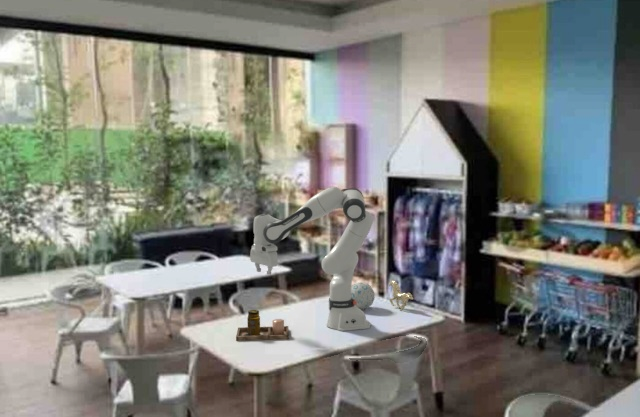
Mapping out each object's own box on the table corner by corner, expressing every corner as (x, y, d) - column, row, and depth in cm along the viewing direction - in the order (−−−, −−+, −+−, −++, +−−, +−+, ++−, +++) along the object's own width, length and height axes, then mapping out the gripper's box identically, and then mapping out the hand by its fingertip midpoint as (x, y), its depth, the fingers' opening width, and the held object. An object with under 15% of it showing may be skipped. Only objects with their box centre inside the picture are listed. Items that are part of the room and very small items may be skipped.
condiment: (263, 334, 282) (263, 310, 280) (253, 339, 274) (253, 314, 273) (251, 331, 285) (251, 308, 284) (241, 336, 278) (240, 312, 277)
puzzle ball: (346, 305, 333) (346, 280, 331) (371, 304, 335) (371, 279, 333) (350, 313, 318) (350, 286, 316) (377, 312, 320) (377, 285, 318)
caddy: (288, 330, 288) (288, 326, 288) (288, 340, 274) (288, 335, 274) (238, 332, 286) (238, 327, 286) (236, 341, 272) (236, 336, 272)
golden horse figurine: (415, 312, 318) (415, 282, 316) (410, 314, 315) (410, 283, 313) (391, 304, 334) (391, 275, 332) (386, 305, 332) (386, 276, 330)
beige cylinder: (284, 332, 284) (283, 318, 283) (284, 336, 278) (284, 322, 277) (272, 332, 283) (272, 319, 283) (272, 336, 278) (272, 322, 277)
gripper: (246, 244, 295) (247, 271, 296) (268, 249, 279) (269, 277, 280) (257, 243, 299) (258, 269, 300) (279, 247, 283) (280, 275, 284)
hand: (263, 273), depth 290 cm, fingers open, 8 cm apart
